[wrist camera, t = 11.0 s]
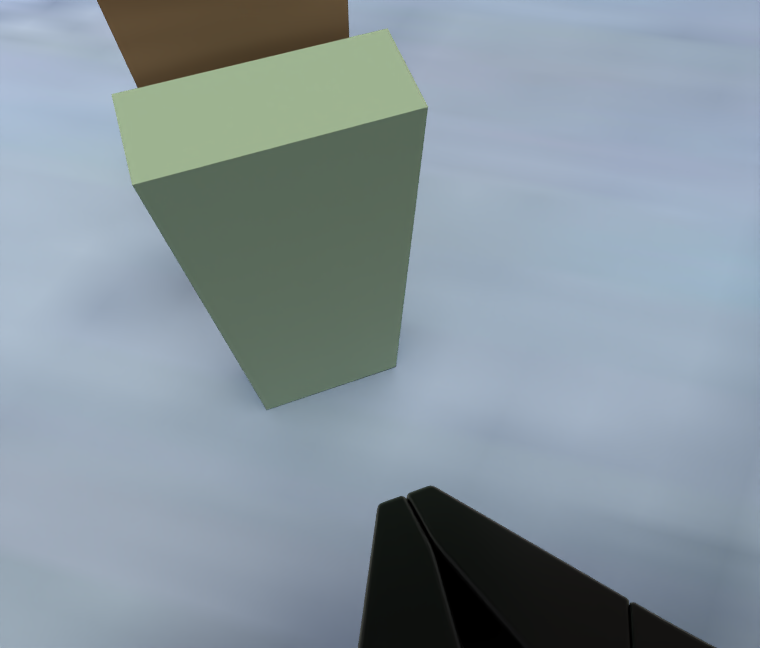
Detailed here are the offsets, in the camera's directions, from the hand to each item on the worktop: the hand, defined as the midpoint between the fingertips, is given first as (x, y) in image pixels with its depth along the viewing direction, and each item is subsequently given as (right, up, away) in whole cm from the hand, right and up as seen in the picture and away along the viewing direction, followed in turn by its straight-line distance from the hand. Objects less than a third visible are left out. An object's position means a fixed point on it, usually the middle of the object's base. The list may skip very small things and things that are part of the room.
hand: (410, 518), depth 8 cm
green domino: (-3, +1, +13) cm, 14 cm away
